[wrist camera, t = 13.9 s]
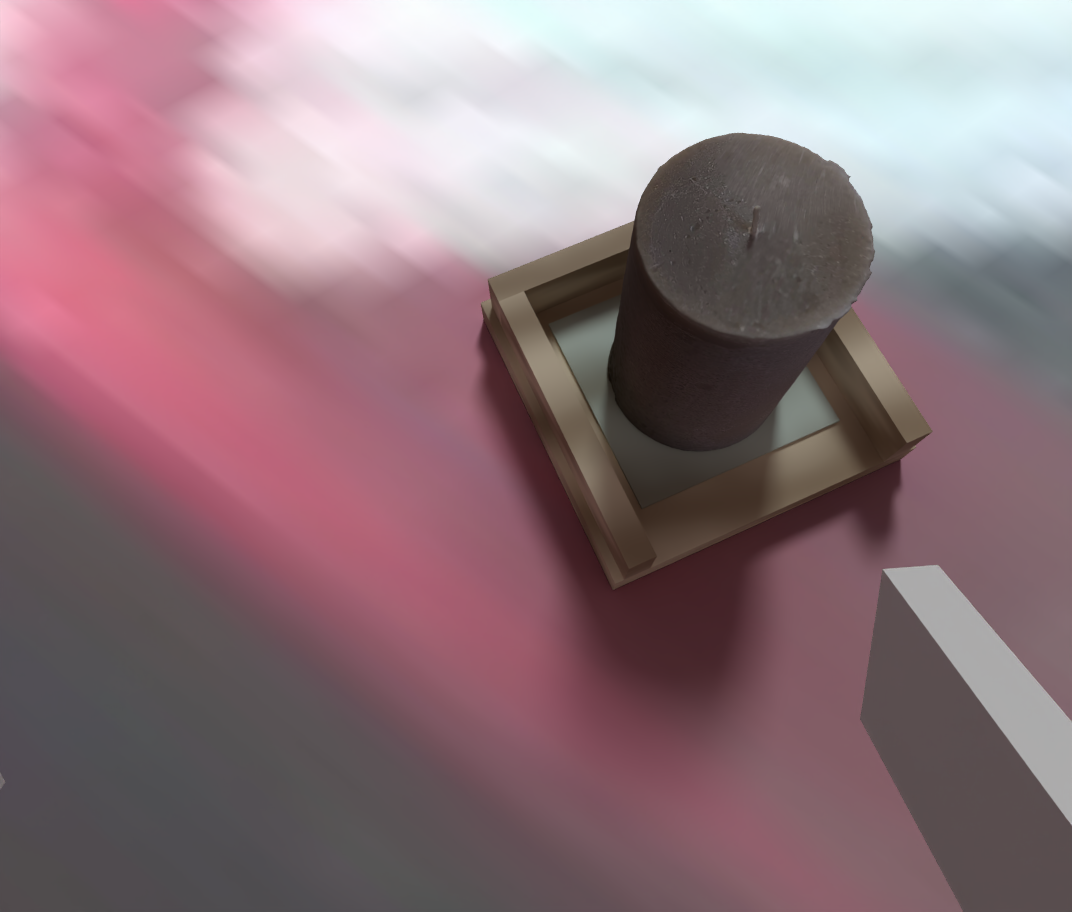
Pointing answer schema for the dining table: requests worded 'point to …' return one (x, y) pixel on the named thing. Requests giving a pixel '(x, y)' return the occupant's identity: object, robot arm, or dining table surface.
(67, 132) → the dining table surface
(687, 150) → the pillar candle
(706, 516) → the wooden tray
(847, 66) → the dining table surface
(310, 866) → the dining table surface
